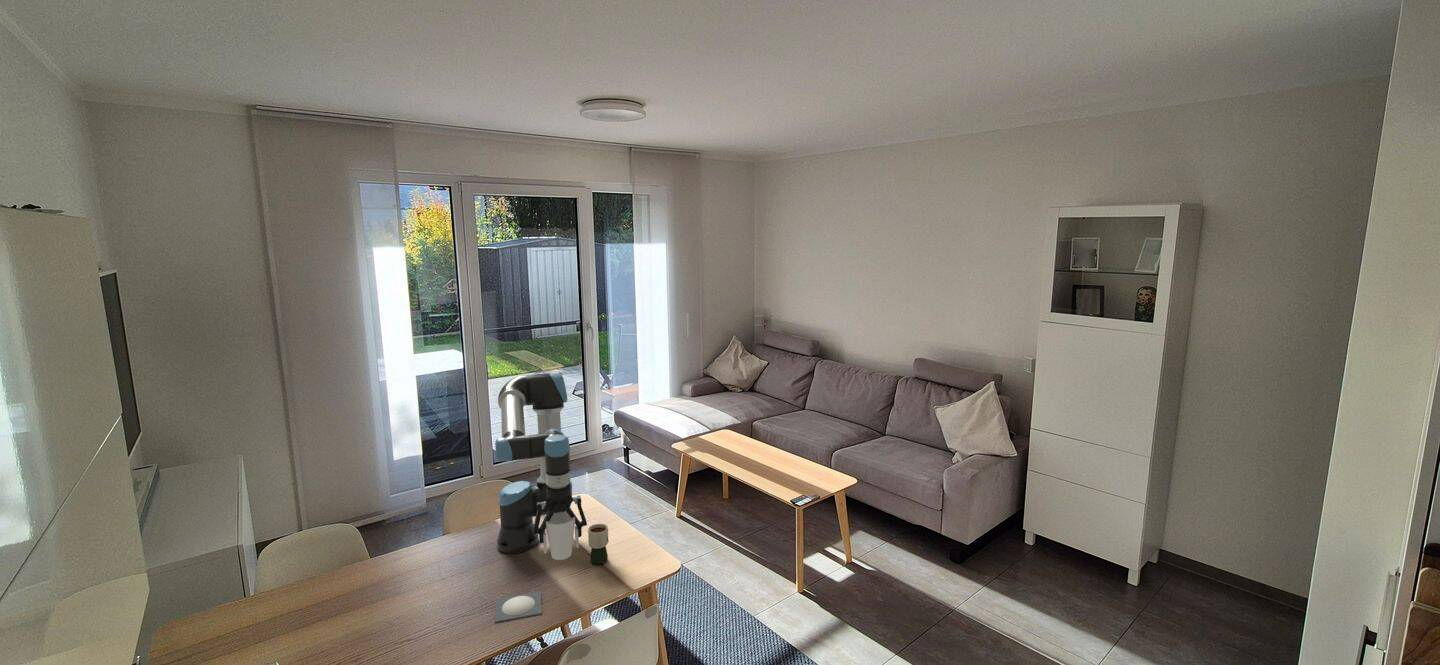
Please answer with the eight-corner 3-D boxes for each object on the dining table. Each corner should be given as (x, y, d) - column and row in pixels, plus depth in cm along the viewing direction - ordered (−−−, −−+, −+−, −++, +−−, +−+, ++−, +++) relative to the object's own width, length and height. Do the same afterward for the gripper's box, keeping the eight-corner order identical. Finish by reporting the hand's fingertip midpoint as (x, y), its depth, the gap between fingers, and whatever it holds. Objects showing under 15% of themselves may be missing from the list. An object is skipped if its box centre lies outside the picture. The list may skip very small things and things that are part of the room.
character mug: (613, 565, 217) (612, 532, 215) (594, 571, 214) (593, 537, 212) (603, 551, 227) (602, 519, 224) (585, 556, 223) (584, 523, 221)
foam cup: (568, 564, 191) (567, 526, 189) (541, 560, 193) (539, 523, 190) (580, 548, 200) (579, 511, 198) (554, 545, 202) (553, 509, 199)
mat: (495, 599, 197) (495, 598, 197) (540, 592, 202) (540, 590, 202) (494, 622, 186) (494, 621, 186) (542, 613, 190) (541, 612, 190)
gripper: (522, 494, 185) (526, 560, 189) (595, 483, 192) (597, 548, 196) (521, 483, 192) (525, 548, 196) (591, 474, 199) (593, 537, 203)
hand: (561, 548), depth 196 cm, fingers closed on foam cup, 9 cm apart
